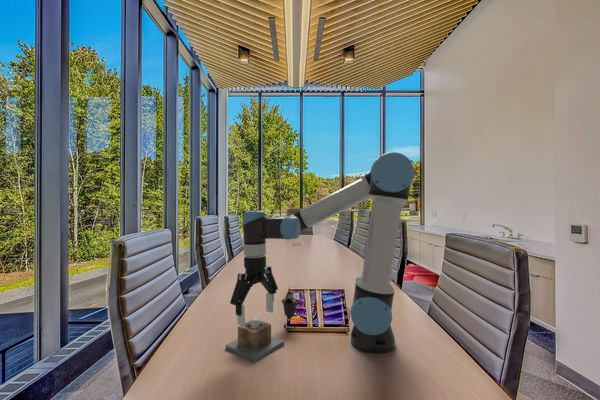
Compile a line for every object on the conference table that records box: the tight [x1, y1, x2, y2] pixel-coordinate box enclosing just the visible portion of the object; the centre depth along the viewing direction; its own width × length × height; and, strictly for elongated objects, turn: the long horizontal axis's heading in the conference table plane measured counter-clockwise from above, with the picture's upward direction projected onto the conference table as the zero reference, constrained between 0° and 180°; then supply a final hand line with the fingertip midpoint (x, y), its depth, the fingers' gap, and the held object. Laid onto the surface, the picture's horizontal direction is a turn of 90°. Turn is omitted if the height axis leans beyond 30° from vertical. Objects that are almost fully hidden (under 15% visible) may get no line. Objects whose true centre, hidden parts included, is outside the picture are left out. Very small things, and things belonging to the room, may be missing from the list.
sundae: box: [281, 287, 299, 329], centre depth 118 cm, size 7×7×15 cm
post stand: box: [225, 317, 285, 363], centre depth 102 cm, size 14×14×9 cm
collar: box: [237, 320, 272, 351], centre depth 102 cm, size 8×8×6 cm
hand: (256, 317), depth 101 cm, fingers open, 13 cm apart
